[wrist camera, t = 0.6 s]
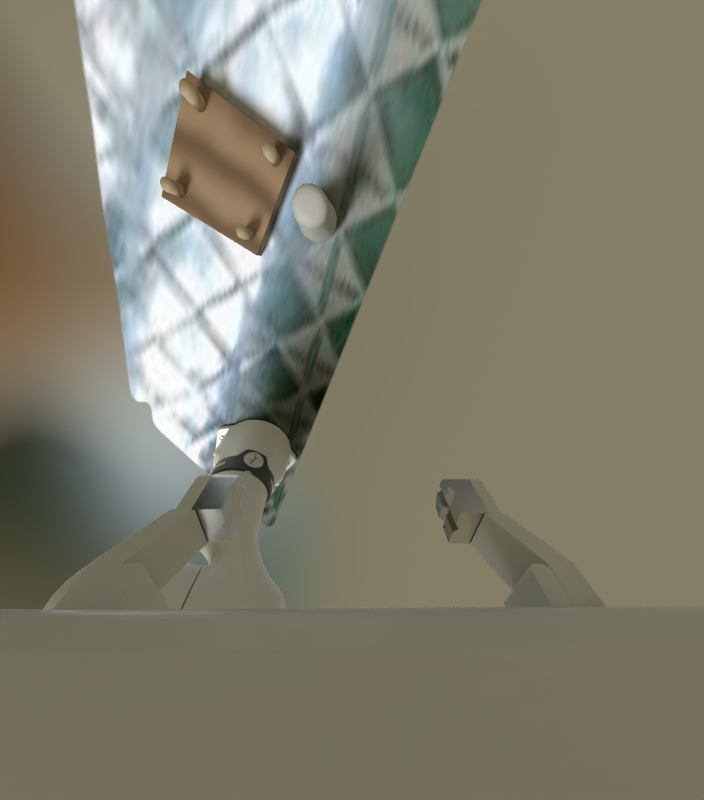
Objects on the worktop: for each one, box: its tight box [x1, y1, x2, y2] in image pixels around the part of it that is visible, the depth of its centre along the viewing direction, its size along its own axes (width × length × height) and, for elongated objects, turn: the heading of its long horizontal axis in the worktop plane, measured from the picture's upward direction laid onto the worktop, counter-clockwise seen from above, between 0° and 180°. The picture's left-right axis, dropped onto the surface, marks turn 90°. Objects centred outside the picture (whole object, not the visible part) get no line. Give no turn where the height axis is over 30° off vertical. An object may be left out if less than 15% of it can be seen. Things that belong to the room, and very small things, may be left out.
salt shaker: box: [292, 183, 337, 242], centre depth 34 cm, size 6×6×13 cm
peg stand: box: [160, 71, 297, 256], centre depth 35 cm, size 14×14×6 cm
